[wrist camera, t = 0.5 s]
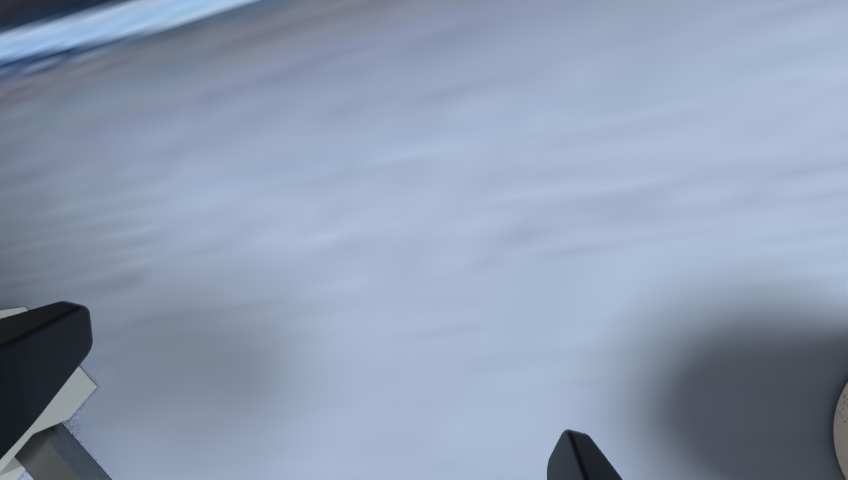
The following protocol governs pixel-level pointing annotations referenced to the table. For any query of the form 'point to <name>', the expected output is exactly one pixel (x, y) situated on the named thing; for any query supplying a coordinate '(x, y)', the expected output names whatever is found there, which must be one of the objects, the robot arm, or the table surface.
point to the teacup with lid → (842, 431)
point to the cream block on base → (47, 411)
